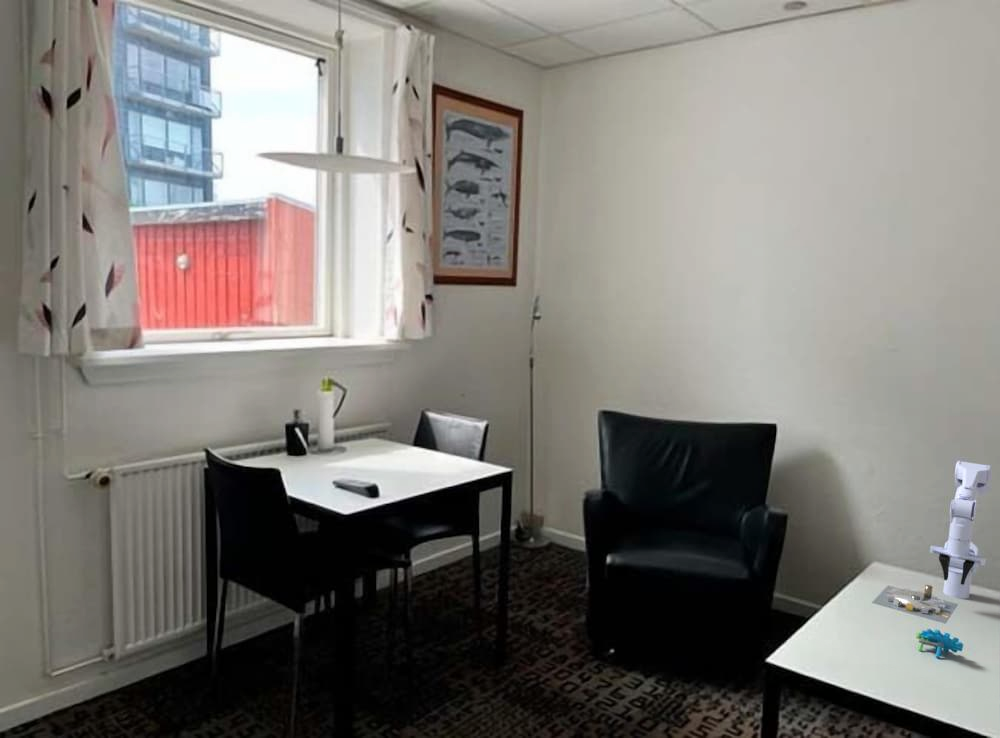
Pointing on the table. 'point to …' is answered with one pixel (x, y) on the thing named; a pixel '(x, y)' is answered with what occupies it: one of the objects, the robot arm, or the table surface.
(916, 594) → the sprocket
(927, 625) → the table surface
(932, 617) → the base plate
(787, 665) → the table surface
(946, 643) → the blue toy dinosaur
